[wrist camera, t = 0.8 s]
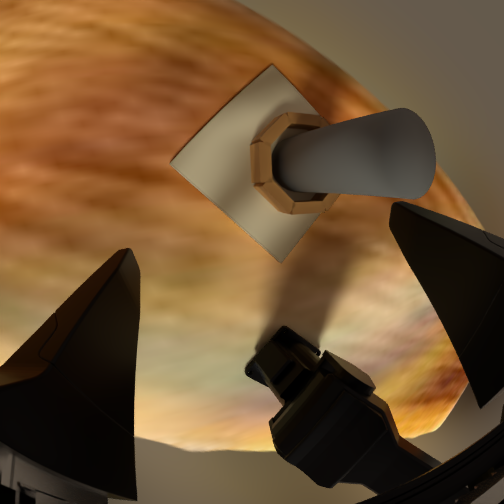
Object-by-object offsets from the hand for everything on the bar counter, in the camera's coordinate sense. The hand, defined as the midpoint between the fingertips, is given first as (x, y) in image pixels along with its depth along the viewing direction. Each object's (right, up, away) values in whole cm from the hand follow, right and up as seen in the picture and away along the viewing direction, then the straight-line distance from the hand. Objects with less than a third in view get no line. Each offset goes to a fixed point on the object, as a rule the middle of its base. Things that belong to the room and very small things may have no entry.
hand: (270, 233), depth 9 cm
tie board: (+2, +7, +16) cm, 17 cm away
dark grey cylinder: (+3, +7, +16) cm, 18 cm away
